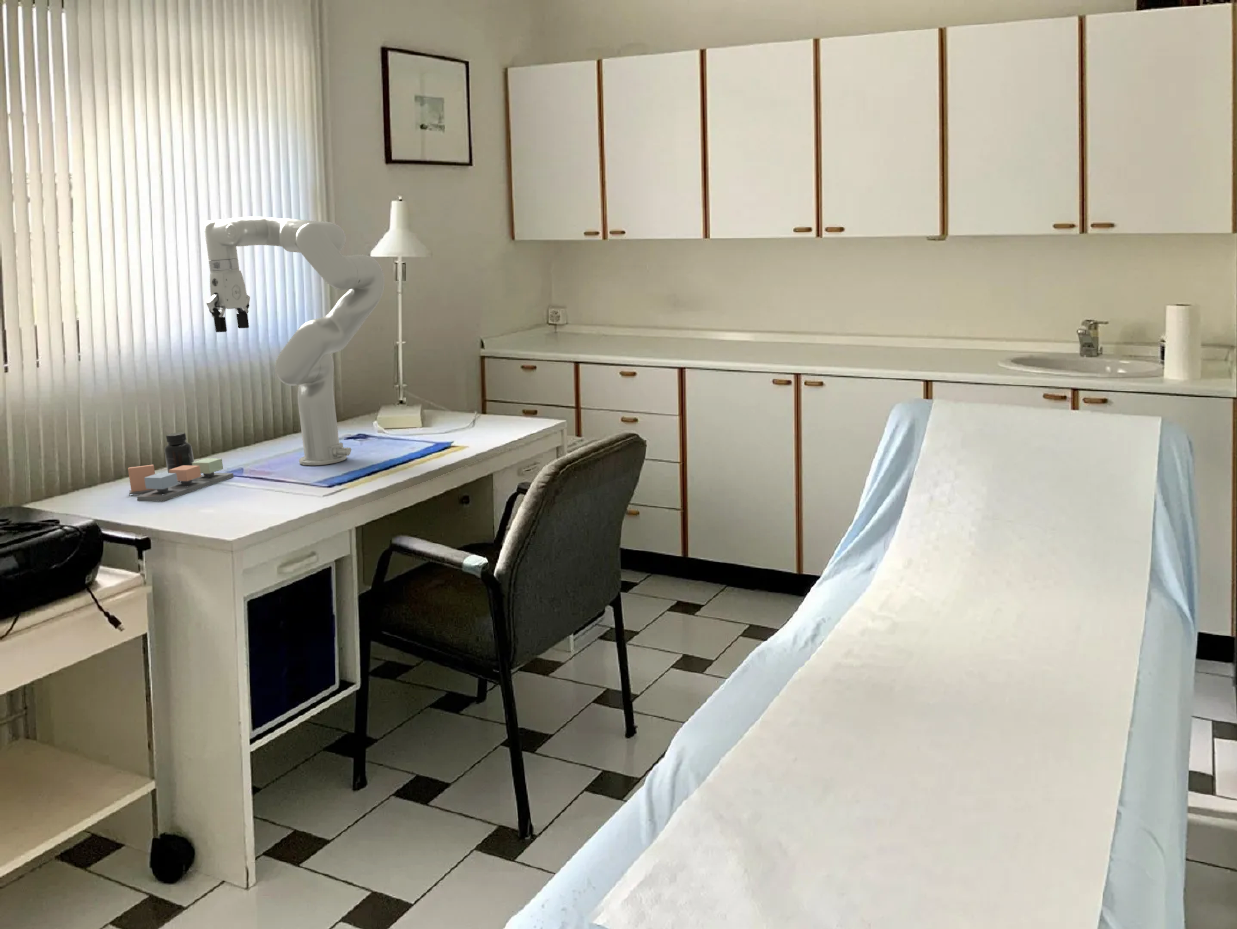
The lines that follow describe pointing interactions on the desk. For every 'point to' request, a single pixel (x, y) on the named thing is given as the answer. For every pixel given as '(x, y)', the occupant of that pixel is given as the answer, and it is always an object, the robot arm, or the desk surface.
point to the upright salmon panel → (140, 478)
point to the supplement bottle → (178, 451)
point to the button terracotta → (186, 473)
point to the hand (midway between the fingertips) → (232, 329)
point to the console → (185, 487)
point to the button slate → (161, 481)
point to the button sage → (209, 465)
